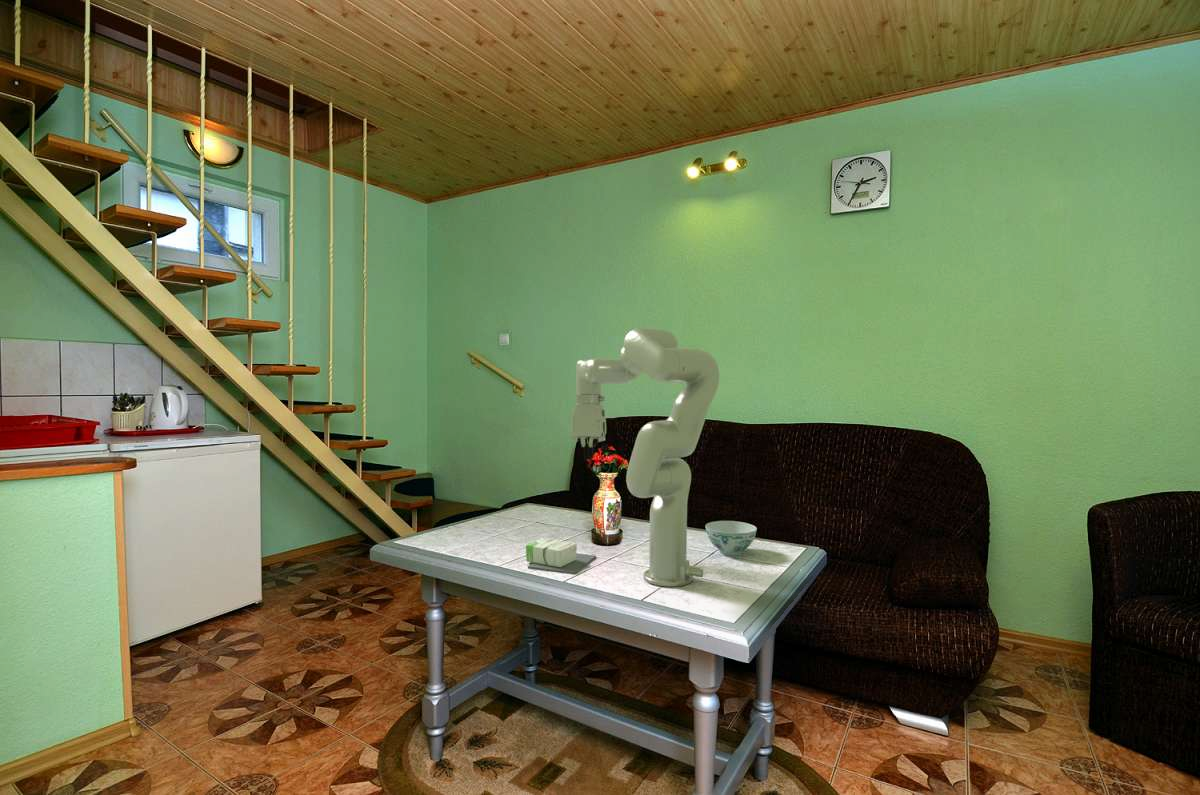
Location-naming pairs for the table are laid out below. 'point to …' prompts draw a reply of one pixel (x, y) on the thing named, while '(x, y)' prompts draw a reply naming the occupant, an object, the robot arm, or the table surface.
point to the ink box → (551, 552)
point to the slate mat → (568, 568)
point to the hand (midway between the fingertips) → (588, 459)
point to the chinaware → (731, 536)
